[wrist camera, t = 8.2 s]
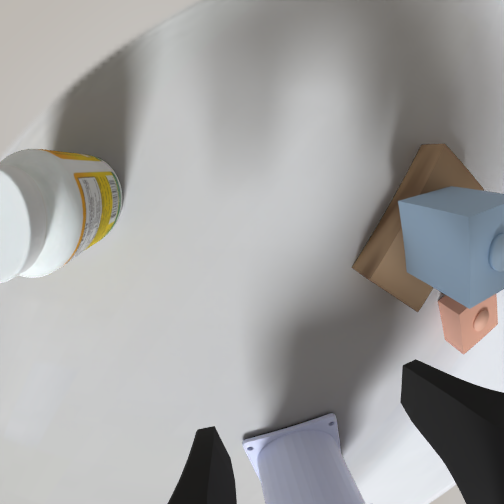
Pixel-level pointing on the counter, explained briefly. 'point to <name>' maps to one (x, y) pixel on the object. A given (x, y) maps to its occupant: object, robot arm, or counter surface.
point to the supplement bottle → (53, 209)
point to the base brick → (390, 229)
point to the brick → (467, 321)
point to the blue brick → (456, 242)
